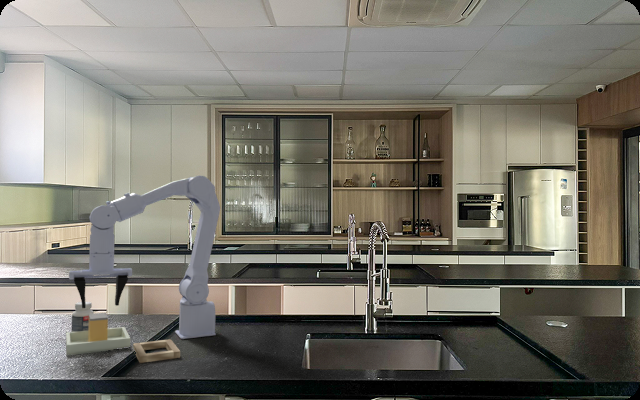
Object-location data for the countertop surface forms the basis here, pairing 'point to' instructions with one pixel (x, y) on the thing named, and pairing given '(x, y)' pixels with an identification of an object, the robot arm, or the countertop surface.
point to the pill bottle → (81, 317)
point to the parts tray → (80, 344)
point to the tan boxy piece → (97, 327)
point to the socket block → (143, 357)
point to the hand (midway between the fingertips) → (100, 306)
